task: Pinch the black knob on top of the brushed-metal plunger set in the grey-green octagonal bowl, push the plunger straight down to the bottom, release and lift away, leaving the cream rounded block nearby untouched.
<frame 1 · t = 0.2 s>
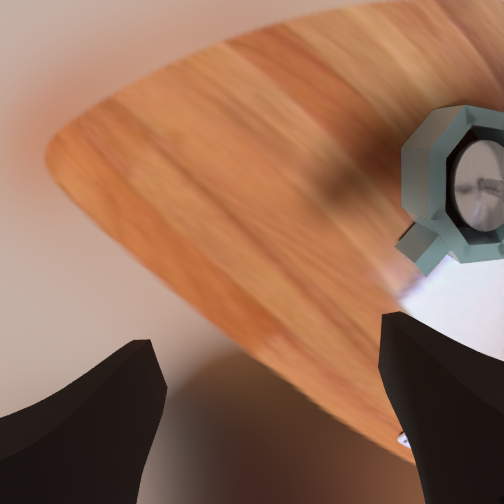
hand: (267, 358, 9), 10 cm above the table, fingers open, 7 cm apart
grey-green octagonal bowl: (457, 178, 16), on the table
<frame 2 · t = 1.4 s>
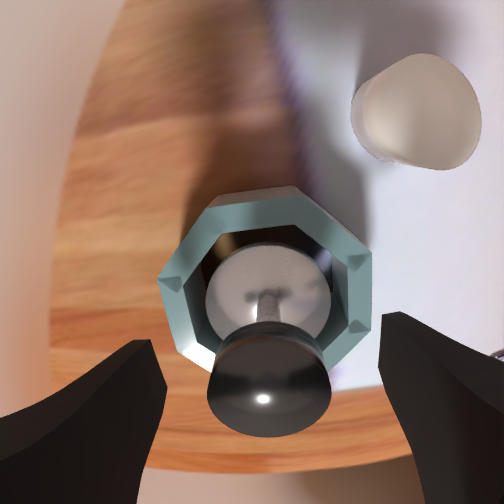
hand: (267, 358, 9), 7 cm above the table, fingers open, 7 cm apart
cream rounded block: (393, 118, 13), on the table
grey-green octagonal bowl: (267, 274, 16), on the table
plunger: (268, 339, 10), point 6 cm above the table, slide at 0.0 cm
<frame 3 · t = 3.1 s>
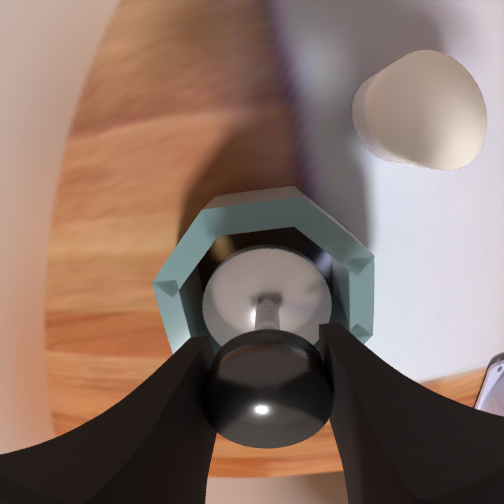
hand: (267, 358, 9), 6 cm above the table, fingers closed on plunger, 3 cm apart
cream rounded block: (395, 117, 13), on the table
grey-green octagonal bowl: (266, 277, 15), on the table
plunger: (267, 346, 10), point 6 cm above the table, slide at 0.0 cm, touching gripper
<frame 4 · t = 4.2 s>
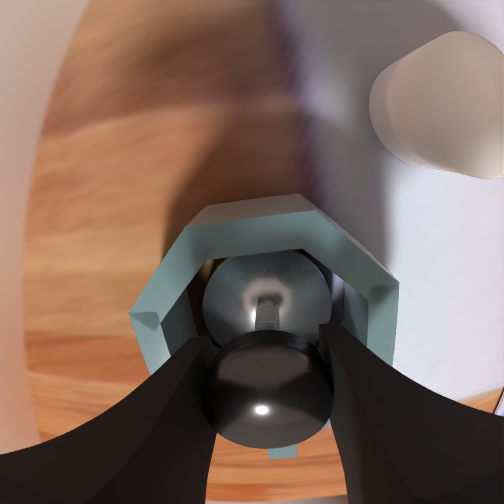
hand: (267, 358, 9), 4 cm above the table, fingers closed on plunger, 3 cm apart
cream rounded block: (418, 113, 10), on the table
grey-green octagonal bowl: (267, 301, 13), on the table
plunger: (267, 346, 10), point 3 cm above the table, slide at 2.5 cm, touching gripper
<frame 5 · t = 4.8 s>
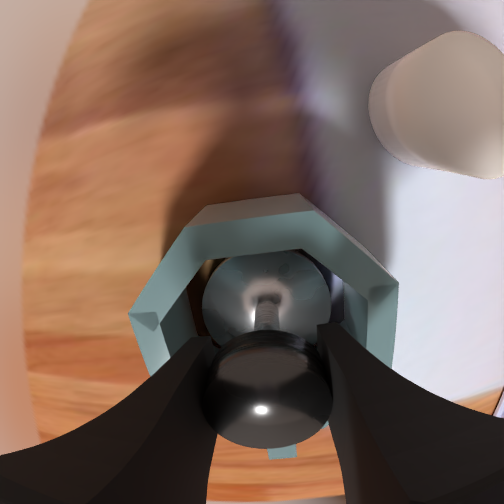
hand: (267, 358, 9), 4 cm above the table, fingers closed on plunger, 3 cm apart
cream rounded block: (418, 112, 10), on the table
grey-green octagonal bowl: (266, 301, 13), on the table
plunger: (267, 346, 10), point 3 cm above the table, slide at 2.5 cm, touching gripper
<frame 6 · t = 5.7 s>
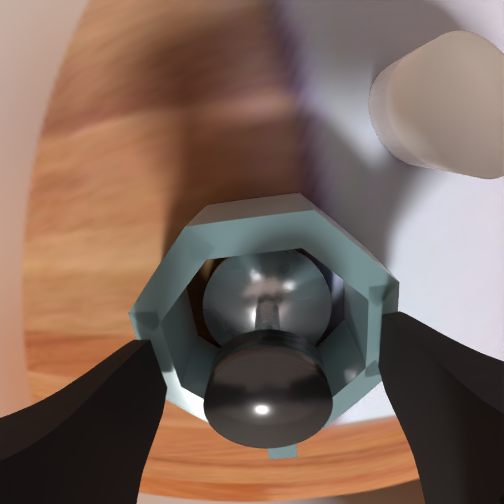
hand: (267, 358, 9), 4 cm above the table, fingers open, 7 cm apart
cream rounded block: (418, 112, 10), on the table
grey-green octagonal bowl: (267, 300, 13), on the table
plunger: (267, 346, 10), point 3 cm above the table, slide at 2.5 cm
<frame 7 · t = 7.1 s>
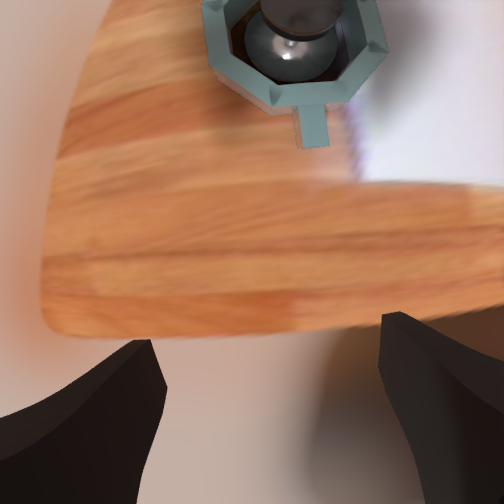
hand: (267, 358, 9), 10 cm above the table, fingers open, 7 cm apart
grey-green octagonal bowl: (290, 43, 15), on the table
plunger: (295, 23, 12), point 3 cm above the table, slide at 2.5 cm
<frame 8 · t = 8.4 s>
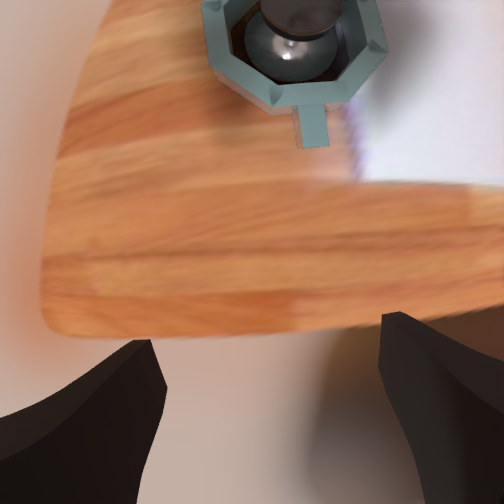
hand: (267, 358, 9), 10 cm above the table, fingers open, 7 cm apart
grey-green octagonal bowl: (290, 43, 15), on the table
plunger: (295, 23, 12), point 3 cm above the table, slide at 2.5 cm
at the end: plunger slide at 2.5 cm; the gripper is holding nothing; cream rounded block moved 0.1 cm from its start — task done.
